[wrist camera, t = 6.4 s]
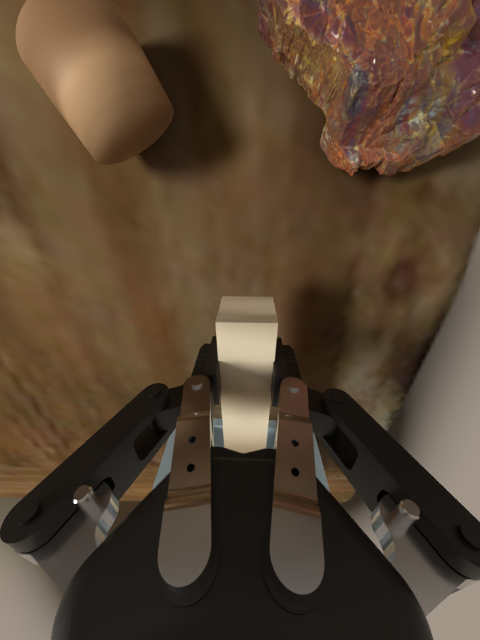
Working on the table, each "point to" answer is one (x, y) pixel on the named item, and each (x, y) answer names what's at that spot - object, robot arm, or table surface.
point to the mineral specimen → (382, 75)
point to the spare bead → (94, 75)
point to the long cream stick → (246, 369)
